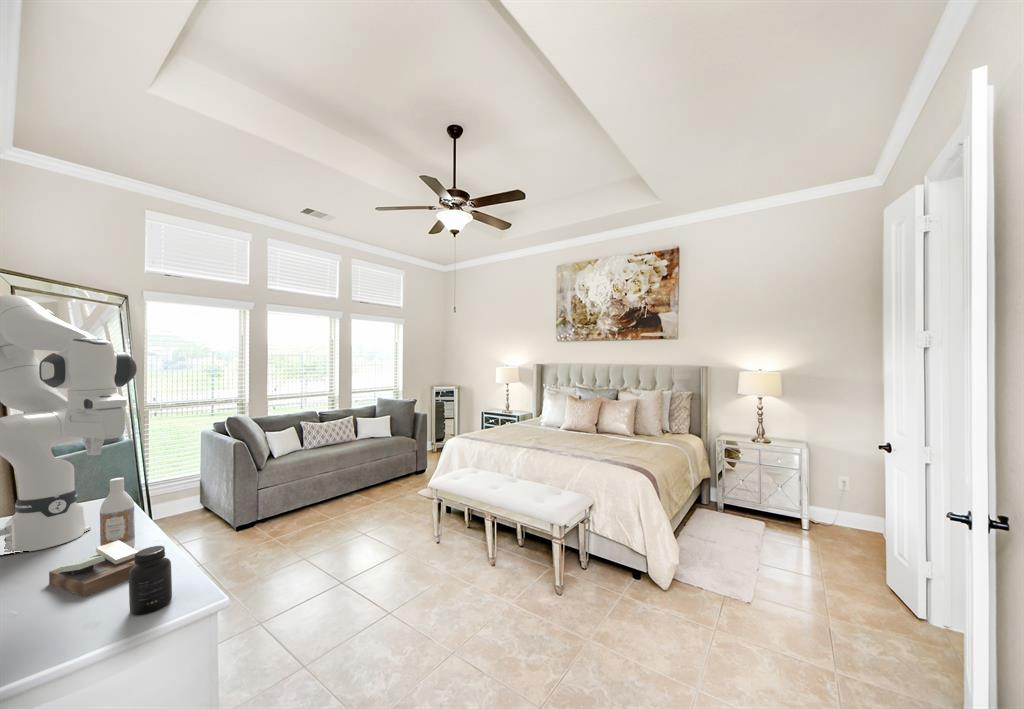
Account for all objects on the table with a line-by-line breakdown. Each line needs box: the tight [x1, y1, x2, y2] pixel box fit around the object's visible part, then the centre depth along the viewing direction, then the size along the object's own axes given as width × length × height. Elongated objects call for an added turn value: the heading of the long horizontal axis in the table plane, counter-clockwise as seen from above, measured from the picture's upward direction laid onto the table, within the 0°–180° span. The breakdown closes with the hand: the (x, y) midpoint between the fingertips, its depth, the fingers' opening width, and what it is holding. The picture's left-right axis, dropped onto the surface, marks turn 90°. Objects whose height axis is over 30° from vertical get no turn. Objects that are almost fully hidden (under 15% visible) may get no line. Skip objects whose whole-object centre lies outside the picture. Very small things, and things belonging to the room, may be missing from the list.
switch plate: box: [48, 554, 135, 598], centre depth 100 cm, size 16×12×4 cm
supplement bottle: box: [128, 545, 173, 617], centre depth 87 cm, size 7×7×12 cm
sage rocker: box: [59, 556, 105, 572], centre depth 97 cm, size 9×4×1 cm, turn 68°
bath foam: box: [99, 477, 136, 548], centre depth 115 cm, size 7×7×20 cm
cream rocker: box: [95, 540, 139, 564], centre depth 103 cm, size 9×4×1 cm, turn 68°
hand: (93, 454), depth 104 cm, fingers closed
